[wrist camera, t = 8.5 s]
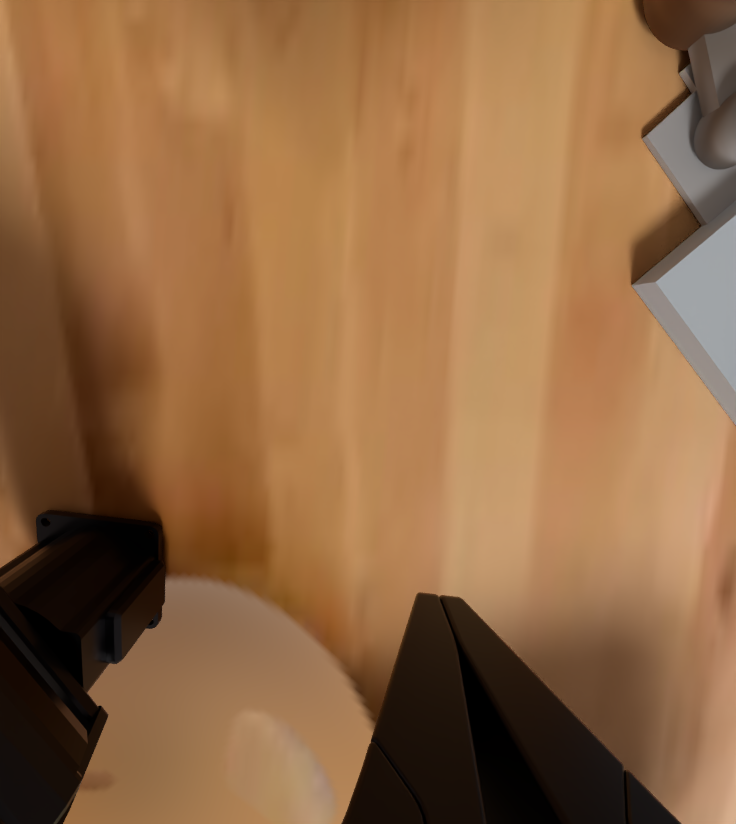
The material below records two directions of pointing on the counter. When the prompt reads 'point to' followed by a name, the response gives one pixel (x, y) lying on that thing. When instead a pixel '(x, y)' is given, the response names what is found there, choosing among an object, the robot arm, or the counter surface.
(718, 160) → the tall brown cylinder
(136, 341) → the counter surface
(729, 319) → the grey flat piece
